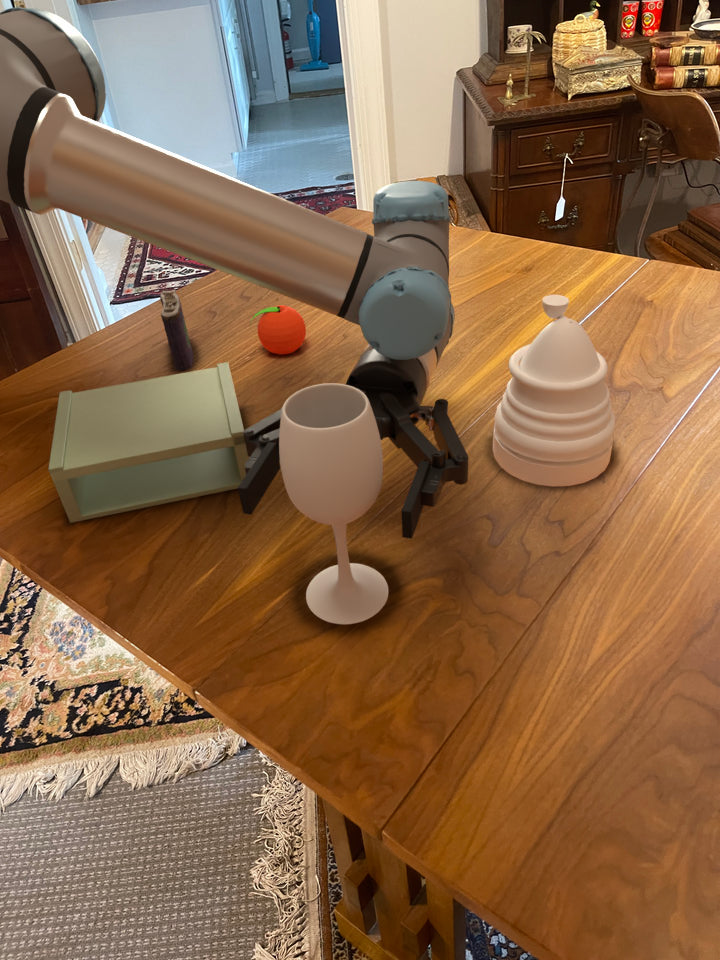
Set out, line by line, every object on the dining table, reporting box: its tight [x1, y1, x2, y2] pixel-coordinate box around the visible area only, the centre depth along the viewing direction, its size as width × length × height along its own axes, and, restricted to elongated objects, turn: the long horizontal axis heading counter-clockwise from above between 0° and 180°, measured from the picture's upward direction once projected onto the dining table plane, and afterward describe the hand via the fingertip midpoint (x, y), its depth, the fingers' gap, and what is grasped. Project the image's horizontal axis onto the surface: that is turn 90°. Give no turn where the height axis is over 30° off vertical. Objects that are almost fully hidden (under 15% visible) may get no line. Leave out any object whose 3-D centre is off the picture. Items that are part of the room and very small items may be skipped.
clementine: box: [249, 304, 307, 356], centre depth 105 cm, size 8×7×7 cm
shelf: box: [48, 361, 250, 524], centre depth 84 cm, size 20×16×8 cm
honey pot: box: [492, 294, 616, 488], centre depth 77 cm, size 13×13×18 cm
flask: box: [159, 289, 194, 372], centre depth 104 cm, size 9×3×11 cm, turn 14°
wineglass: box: [279, 382, 389, 625], centre depth 62 cm, size 9×9×21 cm
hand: (322, 513), depth 58 cm, fingers open, 13 cm apart
